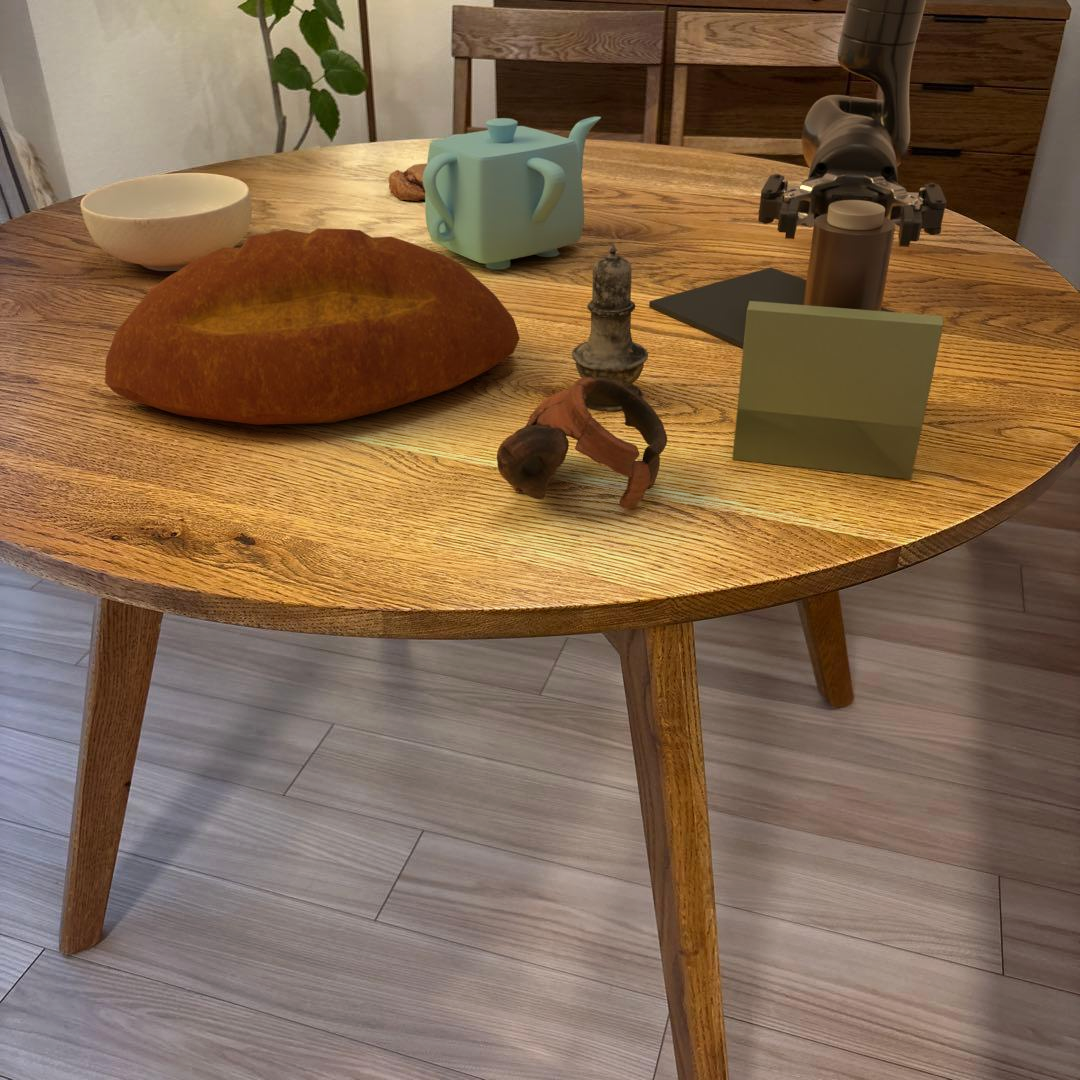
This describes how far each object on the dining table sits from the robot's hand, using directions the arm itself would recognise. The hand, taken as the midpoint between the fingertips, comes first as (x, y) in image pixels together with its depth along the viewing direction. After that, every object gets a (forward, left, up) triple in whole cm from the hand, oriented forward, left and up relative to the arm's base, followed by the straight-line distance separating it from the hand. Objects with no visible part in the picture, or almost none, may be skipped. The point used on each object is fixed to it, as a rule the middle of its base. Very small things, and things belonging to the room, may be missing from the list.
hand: (848, 230), depth 79 cm
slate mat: (-6, -12, -11) cm, 17 cm away
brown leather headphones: (+28, +3, -12) cm, 31 cm away
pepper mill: (+8, +7, -7) cm, 13 cm away
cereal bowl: (+33, -61, -12) cm, 70 cm away
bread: (+34, -23, -12) cm, 43 cm away
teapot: (+2, -42, -12) cm, 43 cm away
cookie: (-2, -68, -12) cm, 69 cm away
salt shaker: (+17, -7, -12) cm, 22 cm away
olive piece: (+8, +7, -11) cm, 16 cm away
